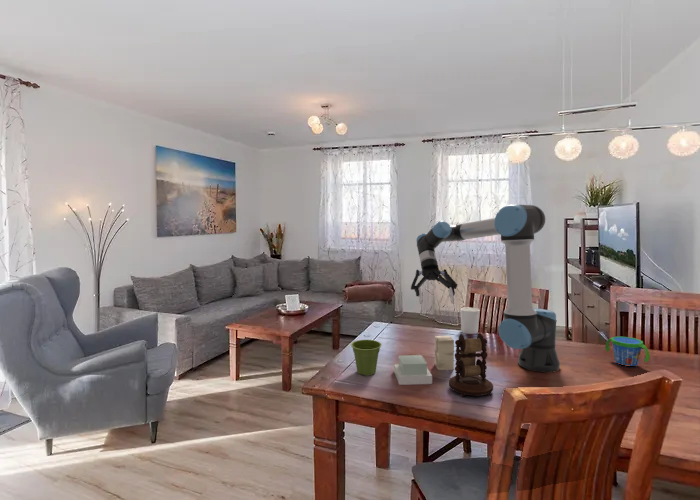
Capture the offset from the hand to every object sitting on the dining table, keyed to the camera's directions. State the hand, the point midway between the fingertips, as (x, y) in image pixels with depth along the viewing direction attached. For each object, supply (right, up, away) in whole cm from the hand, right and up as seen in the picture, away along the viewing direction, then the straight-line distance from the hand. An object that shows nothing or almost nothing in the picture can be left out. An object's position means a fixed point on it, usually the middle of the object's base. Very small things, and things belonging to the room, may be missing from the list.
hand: (437, 301), depth 168 cm
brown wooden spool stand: (+5, -27, -30) cm, 41 cm away
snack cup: (+75, -24, -8) cm, 79 cm away
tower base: (-14, -26, -19) cm, 35 cm away
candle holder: (+26, -21, +40) cm, 52 cm away
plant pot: (-31, -26, -13) cm, 42 cm away
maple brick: (+1, -25, -9) cm, 27 cm away
